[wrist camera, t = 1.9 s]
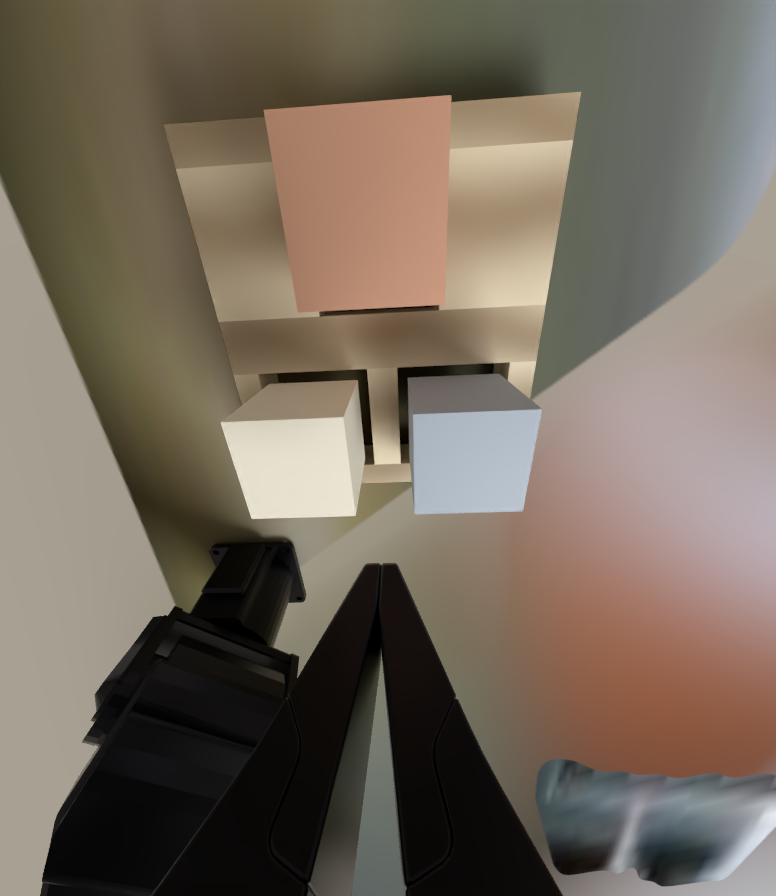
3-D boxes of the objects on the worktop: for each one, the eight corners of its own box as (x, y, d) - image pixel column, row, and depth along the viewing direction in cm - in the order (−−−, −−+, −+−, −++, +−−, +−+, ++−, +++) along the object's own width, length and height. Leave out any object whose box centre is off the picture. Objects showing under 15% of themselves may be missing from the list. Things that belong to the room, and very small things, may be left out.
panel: (503, 457, 20) (516, 478, 18) (278, 465, 21) (264, 486, 19) (549, 124, 13) (580, 92, 11) (200, 150, 14) (163, 124, 11)
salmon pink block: (428, 298, 14) (444, 304, 9) (328, 304, 14) (297, 312, 10) (429, 166, 12) (451, 94, 7) (311, 175, 12) (263, 109, 8)
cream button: (365, 458, 18) (355, 516, 13) (287, 460, 18) (251, 518, 13) (357, 379, 16) (343, 417, 11) (269, 384, 16) (220, 422, 11)
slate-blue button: (489, 453, 17) (522, 511, 13) (409, 456, 18) (414, 514, 13) (499, 373, 15) (542, 409, 11) (407, 377, 15) (413, 414, 11)
